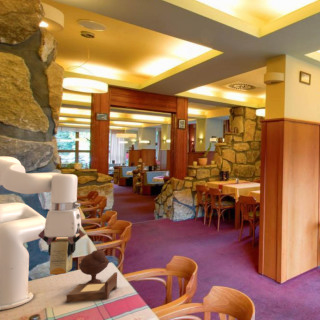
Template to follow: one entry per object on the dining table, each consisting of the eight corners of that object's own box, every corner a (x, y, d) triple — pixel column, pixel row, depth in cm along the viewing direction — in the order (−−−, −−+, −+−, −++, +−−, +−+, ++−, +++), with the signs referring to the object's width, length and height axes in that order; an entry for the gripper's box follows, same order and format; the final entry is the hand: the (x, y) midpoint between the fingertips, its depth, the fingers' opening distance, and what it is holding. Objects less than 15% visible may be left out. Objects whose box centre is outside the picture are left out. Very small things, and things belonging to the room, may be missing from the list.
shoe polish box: (71, 268, 112) (73, 237, 111) (65, 273, 107) (67, 241, 107) (56, 269, 110) (57, 238, 110) (49, 274, 105) (50, 242, 105)
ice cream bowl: (105, 276, 136) (106, 245, 136) (110, 283, 129) (111, 250, 129) (76, 282, 129) (77, 249, 129) (80, 291, 121) (81, 256, 121)
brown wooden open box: (66, 302, 112) (66, 284, 112) (79, 290, 121) (79, 274, 121) (107, 299, 115) (107, 281, 115) (116, 288, 125) (117, 272, 125)
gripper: (94, 204, 114) (92, 249, 114) (43, 204, 110) (41, 251, 110) (84, 208, 107) (82, 256, 107) (29, 208, 102) (27, 258, 103)
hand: (61, 253), depth 108 cm, fingers closed on shoe polish box, 5 cm apart
